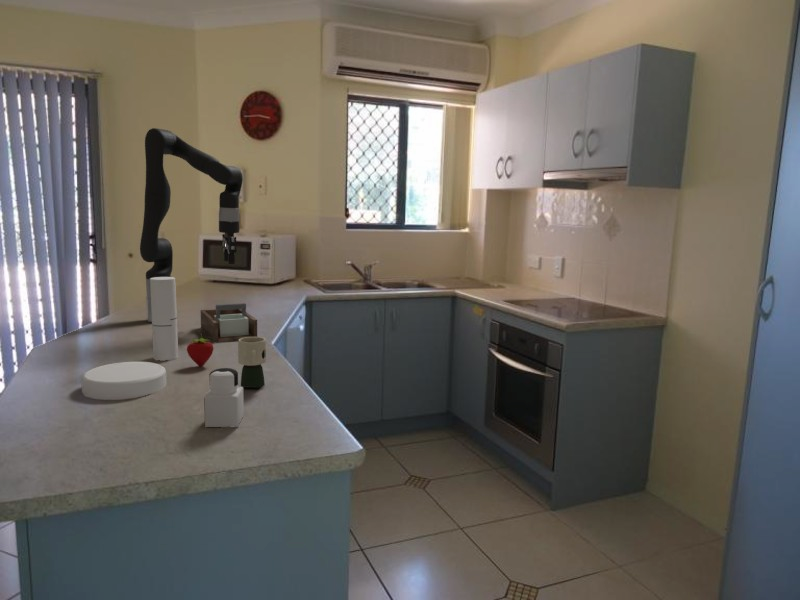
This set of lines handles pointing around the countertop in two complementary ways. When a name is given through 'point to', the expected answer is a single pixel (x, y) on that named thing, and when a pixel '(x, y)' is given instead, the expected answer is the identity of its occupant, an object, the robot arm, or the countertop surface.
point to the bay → (212, 326)
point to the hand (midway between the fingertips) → (229, 262)
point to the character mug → (252, 360)
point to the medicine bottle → (223, 399)
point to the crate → (232, 320)
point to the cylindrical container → (164, 318)
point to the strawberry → (200, 351)
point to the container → (123, 380)
